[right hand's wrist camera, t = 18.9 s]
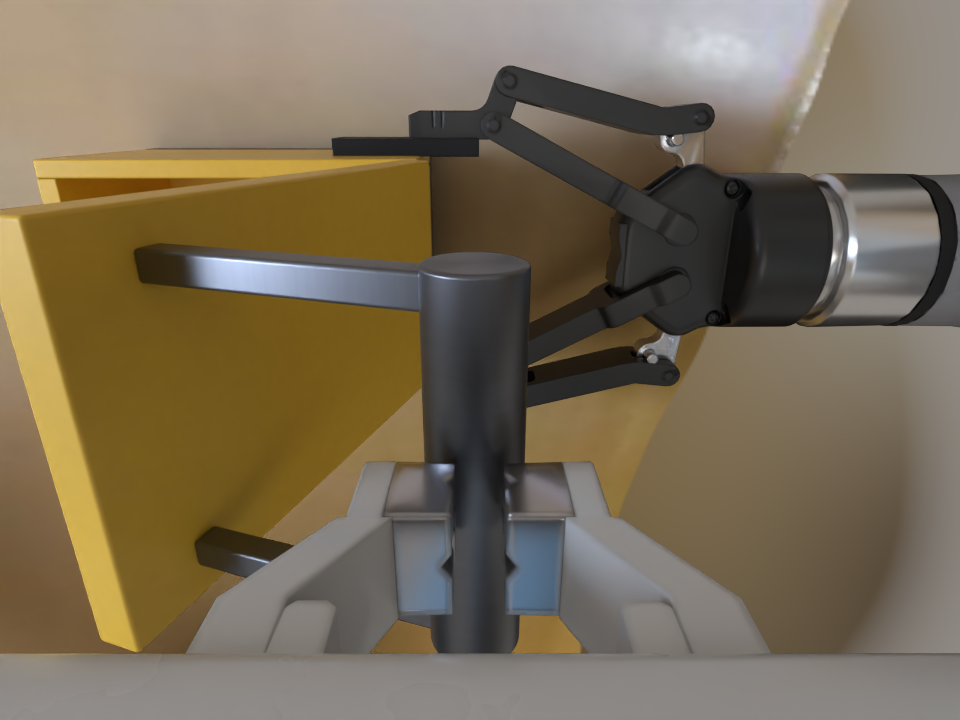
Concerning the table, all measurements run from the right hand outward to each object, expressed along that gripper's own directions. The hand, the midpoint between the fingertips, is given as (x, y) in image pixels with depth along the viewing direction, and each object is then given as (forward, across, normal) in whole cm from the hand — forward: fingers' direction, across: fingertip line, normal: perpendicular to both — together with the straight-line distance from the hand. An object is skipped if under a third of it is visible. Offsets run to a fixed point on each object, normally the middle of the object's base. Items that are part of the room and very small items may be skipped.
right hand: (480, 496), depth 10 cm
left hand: (+21, -7, 0) cm, 22 cm away
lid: (+9, -6, 0) cm, 11 cm away
